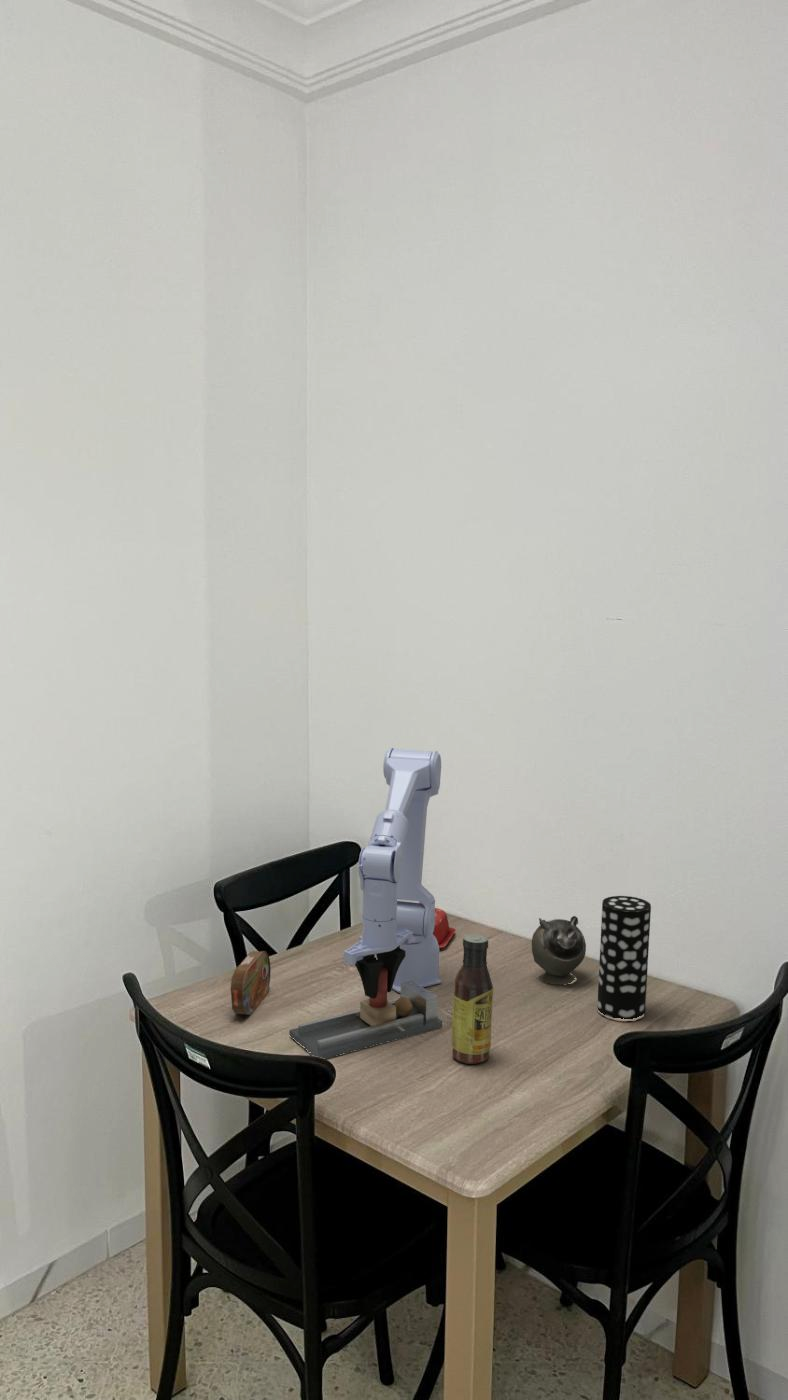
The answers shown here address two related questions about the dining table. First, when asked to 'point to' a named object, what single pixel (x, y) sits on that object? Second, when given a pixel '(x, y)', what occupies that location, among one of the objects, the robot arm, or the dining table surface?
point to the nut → (403, 1006)
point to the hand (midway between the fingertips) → (378, 993)
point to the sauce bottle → (472, 1003)
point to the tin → (250, 982)
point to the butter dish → (442, 928)
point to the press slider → (378, 1004)
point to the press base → (368, 1026)
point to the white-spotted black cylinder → (623, 957)
